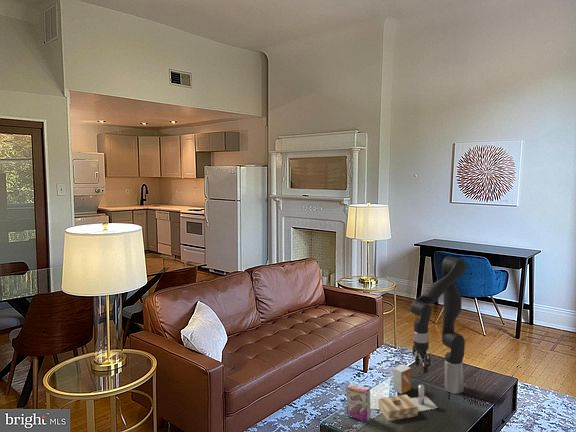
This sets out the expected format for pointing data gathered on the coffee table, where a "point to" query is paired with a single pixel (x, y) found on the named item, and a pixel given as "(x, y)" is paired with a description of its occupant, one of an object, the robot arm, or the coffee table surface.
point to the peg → (421, 394)
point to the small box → (402, 378)
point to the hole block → (398, 407)
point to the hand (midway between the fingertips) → (421, 368)
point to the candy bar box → (358, 402)
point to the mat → (427, 404)
